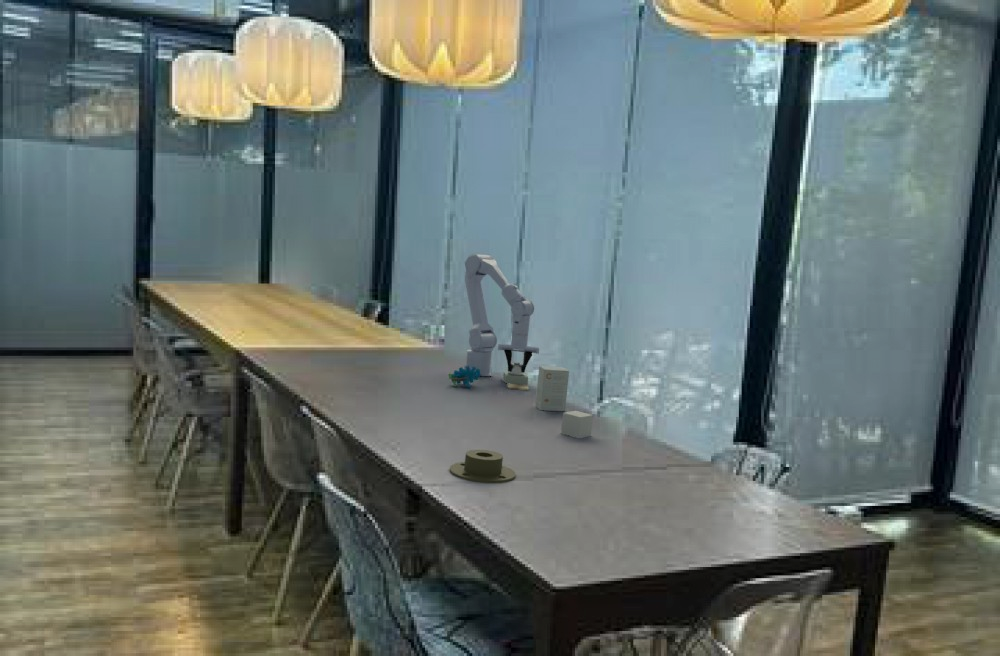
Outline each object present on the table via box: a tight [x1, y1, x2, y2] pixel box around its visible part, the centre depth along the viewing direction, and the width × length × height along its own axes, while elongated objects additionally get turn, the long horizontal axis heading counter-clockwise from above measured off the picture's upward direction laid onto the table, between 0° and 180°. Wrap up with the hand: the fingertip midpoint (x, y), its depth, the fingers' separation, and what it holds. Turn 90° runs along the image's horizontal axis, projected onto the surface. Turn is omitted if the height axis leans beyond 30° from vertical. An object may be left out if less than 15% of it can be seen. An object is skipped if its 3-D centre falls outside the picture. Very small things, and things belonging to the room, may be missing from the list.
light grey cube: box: [560, 410, 594, 439], centre depth 253 cm, size 6×6×6 cm
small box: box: [535, 365, 570, 412], centre depth 284 cm, size 8×6×13 cm
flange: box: [449, 449, 517, 484], centre depth 206 cm, size 5×15×15 cm
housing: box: [502, 371, 529, 386], centre depth 324 cm, size 8×8×3 cm
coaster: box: [506, 383, 530, 391], centre depth 315 cm, size 7×7×1 cm
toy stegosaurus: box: [448, 366, 482, 389], centre depth 307 cm, size 11×6×10 cm
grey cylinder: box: [509, 361, 523, 376], centre depth 324 cm, size 4×4×7 cm
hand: (516, 371), depth 324 cm, fingers closed on grey cylinder, 4 cm apart
